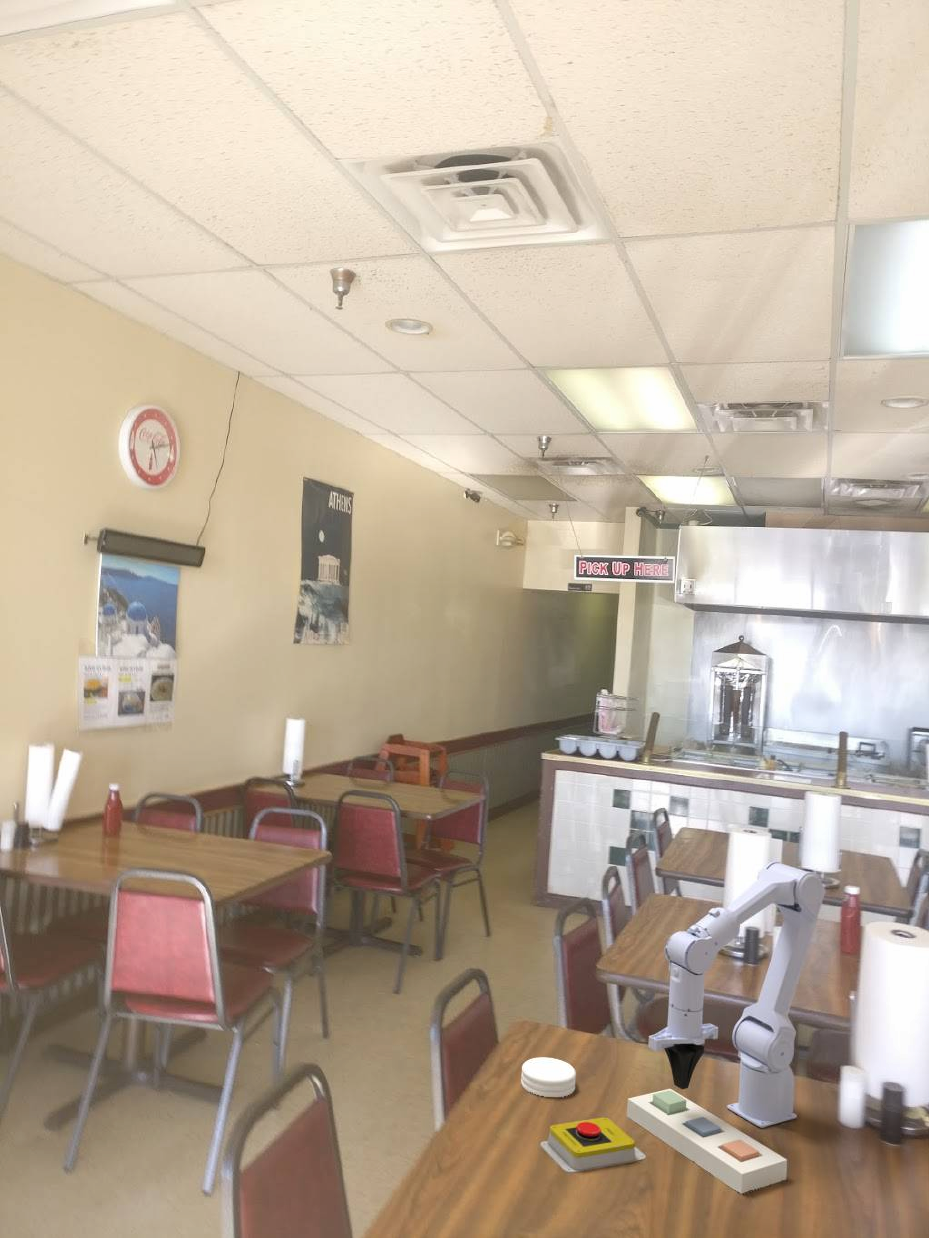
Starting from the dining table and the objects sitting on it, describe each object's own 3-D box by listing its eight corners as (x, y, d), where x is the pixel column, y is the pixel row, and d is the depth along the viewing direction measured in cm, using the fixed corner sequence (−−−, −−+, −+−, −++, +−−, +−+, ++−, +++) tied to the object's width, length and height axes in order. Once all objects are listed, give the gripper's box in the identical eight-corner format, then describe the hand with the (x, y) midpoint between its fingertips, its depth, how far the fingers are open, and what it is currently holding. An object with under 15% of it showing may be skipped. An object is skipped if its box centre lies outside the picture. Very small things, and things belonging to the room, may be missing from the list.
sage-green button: (669, 1107, 165) (670, 1090, 165) (685, 1117, 162) (686, 1100, 162) (651, 1111, 163) (652, 1094, 163) (668, 1122, 160) (669, 1104, 160)
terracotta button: (738, 1158, 152) (739, 1139, 152) (758, 1170, 148) (759, 1151, 148) (720, 1163, 150) (721, 1144, 150) (740, 1176, 146) (741, 1156, 146)
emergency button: (539, 1118, 153) (617, 1107, 159) (537, 1146, 153) (615, 1133, 159) (568, 1147, 145) (649, 1134, 151) (566, 1176, 144) (648, 1162, 151)
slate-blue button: (702, 1134, 158) (703, 1116, 159) (719, 1146, 155) (720, 1127, 155) (684, 1139, 156) (685, 1121, 157) (702, 1151, 153) (703, 1132, 153)
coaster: (515, 1092, 171) (516, 1073, 171) (527, 1070, 180) (528, 1052, 180) (569, 1104, 168) (570, 1084, 168) (579, 1081, 177) (580, 1062, 177)
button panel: (669, 1105, 169) (670, 1088, 170) (786, 1179, 147) (787, 1159, 147) (626, 1116, 164) (627, 1098, 164) (741, 1194, 142) (742, 1173, 142)
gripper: (671, 1019, 154) (666, 1104, 153) (733, 1007, 162) (728, 1088, 161) (641, 1004, 160) (636, 1086, 159) (702, 993, 168) (698, 1071, 167)
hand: (681, 1086), depth 161 cm, fingers closed
